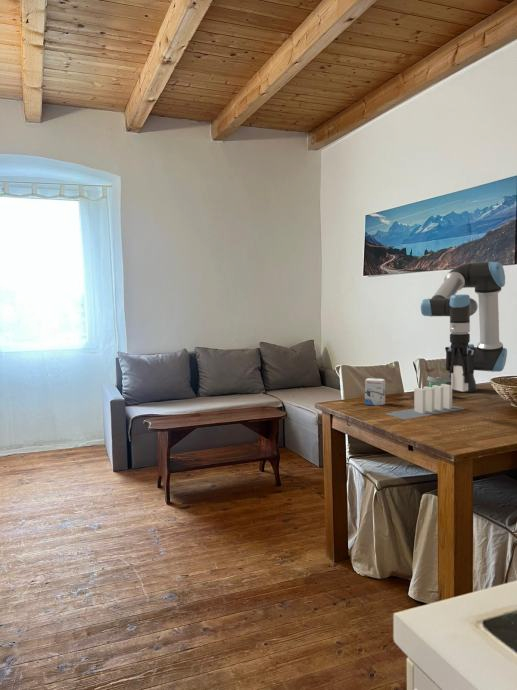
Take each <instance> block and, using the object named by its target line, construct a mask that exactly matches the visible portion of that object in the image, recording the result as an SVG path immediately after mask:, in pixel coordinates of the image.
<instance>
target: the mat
mask: <svg viewBox="0 0 517 690" xmlns="http://www.w3.org/2000/svg"><path fill="white" fill-rule="evenodd" d="M460 410H461V411H462V410H466V408H464V407H461V406H457V405H456V406H455V405H453V404H452V408H451V409H448V408H444V407H443V410H437V409H435V411H434V412H430V411H427V410H426V413H419V412H416V411H414V408H410V409H409V408H408V409H403V410H397V411H392V412H385V413H384V414H385V415H388V416H391V417H393V418H394V417H395V418H397V419H401V420H403V421H404V420H405V421H406V420H409V419H415V418H420V417H426V416H427V417H428V416H432V415H437V414H443V413H449V412H453V411H454V412H456V411H460Z"/></svg>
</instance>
